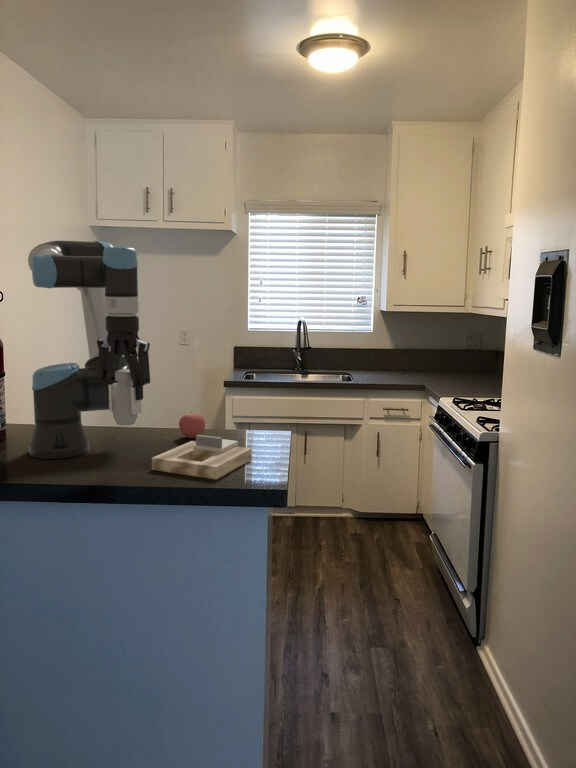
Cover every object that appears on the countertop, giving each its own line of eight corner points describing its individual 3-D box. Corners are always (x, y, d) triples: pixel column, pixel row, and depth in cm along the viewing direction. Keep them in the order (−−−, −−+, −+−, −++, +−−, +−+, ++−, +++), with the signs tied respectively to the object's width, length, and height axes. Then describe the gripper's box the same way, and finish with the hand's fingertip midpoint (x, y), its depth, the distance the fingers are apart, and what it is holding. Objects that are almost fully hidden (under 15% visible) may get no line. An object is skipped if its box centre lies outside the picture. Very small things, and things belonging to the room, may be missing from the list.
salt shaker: (125, 427, 147) (123, 372, 144) (108, 424, 149) (105, 370, 147) (143, 422, 151) (141, 369, 149) (126, 419, 154) (124, 367, 152)
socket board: (152, 469, 153) (151, 457, 152) (191, 451, 169) (191, 440, 168) (216, 479, 146) (216, 467, 145) (251, 459, 162) (251, 448, 161)
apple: (191, 442, 179) (191, 414, 177) (174, 438, 183) (173, 411, 182) (210, 437, 184) (210, 410, 183) (193, 433, 189) (192, 407, 188)
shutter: (193, 448, 160) (192, 435, 160) (210, 441, 168) (209, 428, 167) (222, 452, 157) (221, 439, 156) (238, 444, 165) (237, 431, 164)
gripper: (79, 314, 146) (83, 410, 150) (145, 317, 139) (148, 419, 143) (100, 312, 153) (104, 405, 157) (165, 315, 146) (167, 412, 150)
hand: (125, 411), depth 150 cm, fingers closed on salt shaker, 6 cm apart
